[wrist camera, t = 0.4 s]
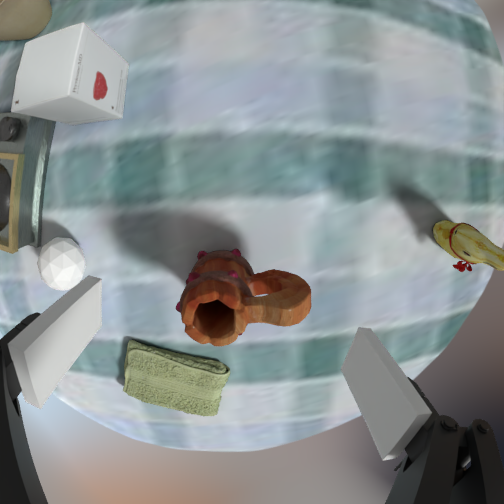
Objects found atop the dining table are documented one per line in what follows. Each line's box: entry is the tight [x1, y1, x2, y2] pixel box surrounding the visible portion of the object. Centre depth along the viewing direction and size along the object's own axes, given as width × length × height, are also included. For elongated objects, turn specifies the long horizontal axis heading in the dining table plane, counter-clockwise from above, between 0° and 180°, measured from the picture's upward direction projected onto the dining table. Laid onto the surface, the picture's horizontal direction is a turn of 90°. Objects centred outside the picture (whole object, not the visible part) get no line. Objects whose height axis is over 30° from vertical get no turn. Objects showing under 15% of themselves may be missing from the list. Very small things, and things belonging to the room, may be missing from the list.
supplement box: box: [11, 22, 129, 125], centre depth 26 cm, size 9×9×15 cm
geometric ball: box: [37, 237, 86, 290], centre depth 36 cm, size 8×8×8 cm
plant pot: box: [0, 0, 52, 40], centre depth 20 cm, size 15×15×16 cm
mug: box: [176, 249, 311, 346], centre depth 34 cm, size 15×8×15 cm, turn 94°
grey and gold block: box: [0, 112, 56, 254], centre depth 31 cm, size 22×15×8 cm
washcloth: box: [123, 340, 230, 416], centre depth 44 cm, size 13×18×3 cm
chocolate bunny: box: [433, 220, 504, 272], centre depth 34 cm, size 7×11×15 cm, turn 65°
